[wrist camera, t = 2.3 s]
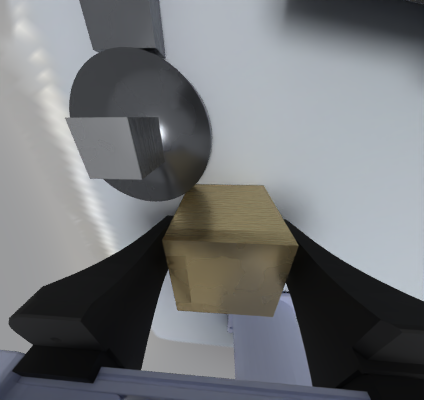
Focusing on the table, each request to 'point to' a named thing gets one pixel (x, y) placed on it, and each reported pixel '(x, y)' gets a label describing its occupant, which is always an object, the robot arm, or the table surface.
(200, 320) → the table surface
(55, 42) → the table surface
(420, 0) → the laser sight
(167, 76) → the ratchet
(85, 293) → the robot arm
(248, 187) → the wood grain cube
